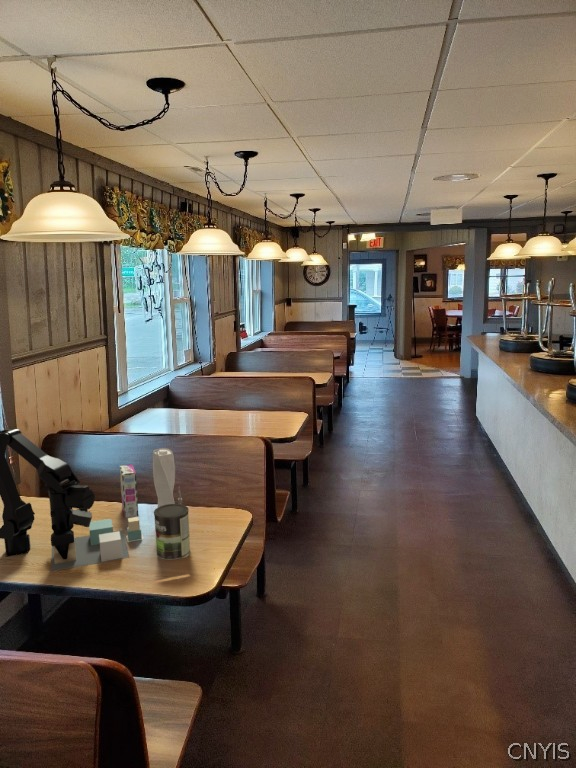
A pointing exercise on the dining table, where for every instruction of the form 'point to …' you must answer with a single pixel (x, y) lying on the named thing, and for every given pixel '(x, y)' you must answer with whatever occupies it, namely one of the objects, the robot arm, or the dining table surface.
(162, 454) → the skyscraper
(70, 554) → the oak cube
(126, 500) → the candy bar box
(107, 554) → the grey cube
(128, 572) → the dining table surface
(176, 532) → the coffee can
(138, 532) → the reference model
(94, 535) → the teal block
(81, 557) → the charcoal mat
